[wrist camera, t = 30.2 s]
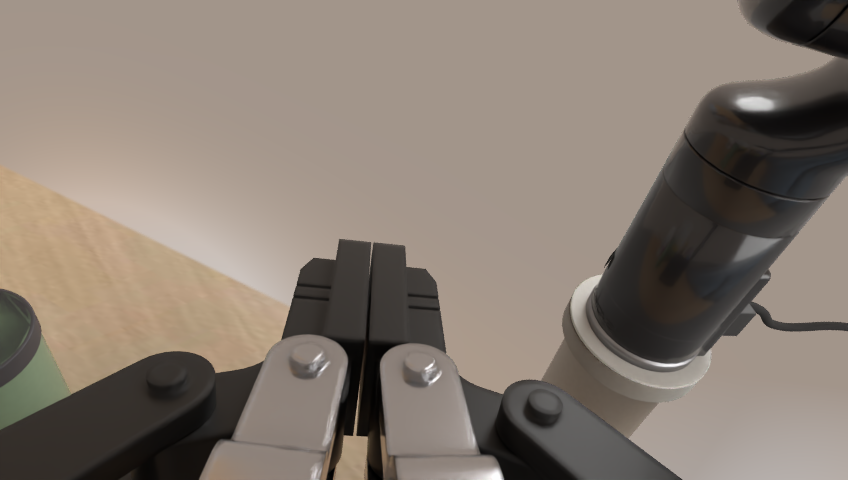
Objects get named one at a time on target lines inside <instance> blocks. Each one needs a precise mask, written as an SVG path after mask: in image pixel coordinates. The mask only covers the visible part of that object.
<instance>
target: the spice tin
mask: <svg viewBox="0 0 848 480" xmlns="http://www.w3.org/2000/svg"><path fill="white" fill-rule="evenodd" d="M70 395H72V394H71V392H70V390H69V388H68V386H67V384H66V382H65V380H64V378H63V376H62V374H61V372H60V370H59V368H58V366H57V364H56V362H55V360H54V358H53V356H52V354H51V352H50V349H49V347H48V345H47V343H46V341H45V339H44V337H43V335H42V333H41V326H40V323H39V321H38V319H37V317H36V315H35V313H34V310H33V308H32V307H31V305H30V304H29V303H28V302H27V301H26V300H25V299H24V298H23V297H21V296H20V295H18V294H16V293H13V292H11V291H8V290H4V289H0V430H1V429H3V428H5V427H7V426H9V425H11V424H13V423H15V422H17V421H19V420H21V419H23V418H25V417H27V416H29V415H31V414H33V413H35V412H37V411H39V410H41V409H43V408H45V407H47V406H49V405H51V404H53V403H55V402H57V401H59V400H61V399H64V398H66V397H68V396H70Z"/></svg>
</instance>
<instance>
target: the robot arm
mask: <svg viewBox="0 0 848 480" xmlns="http://www.w3.org/2000/svg"><path fill="white" fill-rule="evenodd" d="M737 2H738V6H739V9H740V13H741V15H742V16H743V17H744V19H745V20H746V21H747V23H748V24H749V25H751V26H752V27H753V28H755V29H757V30H758V31H760V32H762V33H763V34H765V35H767V36H769V37H771V38H773V39H775V40H779V41H781V42H785V43H790V44H793V45H796V46H800V47H804V48H807V49H810V50H814V51H818V52H822V53H825V54H829V55H832V56H835V57H834V58H833V59H831V60H830V61H829V62H827V63H826V64H824V65H823V66H820V67H818V68H816V69H813V70H811V71H808V72H805V73H801V74H798V75H793V76H789V77H783V78H777V79H769V80H752V81H737V82H731V83H726V84H722V85H719V86H716V87H714V88H713V89H711V90H710V91H708V92H707V93H706V94H705V95H704V96H703V97H702V99H701V100H700V102H699V103H698V105H697V106H696V108H695V110H694V112H693V113H692V115H691V117H690V119H689V121H688V122H687V124H686V126H685V128H684V130H683V131H682V133H681V135H680V137H679V139H678V140H677V142H676V144H675V146H674V148H673V149H672V151H671V153H670V155H669V156H668V158H667V160H666V162H665V164H664V166H663V168H662V170H661V171H660V173H659V175H658V176H657V178H656V180H655V182H654V184H653V186H652V187H651V189H650V191H649V193H648V195H647V196H646V198H645V200H644V202H643V203H642V205H641V207H640V209H639V211H638V212H637V214H636V216H635V218H634V219H633V221H632V223H631V225H630V227H629V228H628V230H627V232H626V234H625V236H624V237H623V239H622V241H621V243H620V245H619V246H618V248H617V249H616V250H615V251H614V252H613V253H612V255H611V256H610V257H609V259H608V261H607V263H606V265H607V264H608V262H609V261H610V260H611V261H610V262H609V264H608V266H607V268H606V269H605V272H604V273H603V275H602V277H601V278H600V280H599V282H598V284H597V285H596V286H595V287H594V288H593V290H592V292H591V294H590V296H589V298H588V300H587V303H586V315H587V319H588V322H589V325H590V327H591V329H592V330H593V332H594V333H595V335H596V336H597V338H598V339H599V340H600V341H601V342H602V343H603V344H604V346H606V347H607V348H608V349H609V350H610V351H611V352H613V353H614V354H615V355H617V356H618V357H619V358H621V359H623V360H624V361H626V362H628V363H630V364H632V365H634V366H637V367H639V368H642V369H645V370H649V371H654V372H675V371H678V370H681V369H683V368H685V367H687V366H688V365H689V364H690V363H691V362H692V361H693V360H694V358H695V357H696V356H705V354H706V353H707V352H708V351H709V350H710V349H711V348H712V346H713V345H714V344H715V343H716V342H717V340H718V339H719V338H720V337H721V336H722V335H723V336H737V335H738V334H739V333H740V332H741V331H742V330H743V328H744V327H745V326H746V325H747V324H748V323H749V322H750V320H751V319H752V318H753V317H754V316H755V315H756V313H757V314H759V315H760V317H761V319H762V321H763V323H764V324H765V325H766V326H768V327H770V328H773V329H777V330H782V331H815V330H844V331H848V323H841V322H812V323H782V322H778V321H774V320H772V318H771V316H770V314H769V312H768V311H767V310H766V309H765V308H764V307H762V306H760V305H759V304H757V303H754V302H751V301H752V300H753V299H754V298H755V297H756V295H757V294H758V293H759V292H760V291H761V290H762V288H763V287H764V286H765V285H766V284H767V283H768V281H769V280H770V277H771V273H770V271H769V267H770V266H771V265H772V264H773V263H774V262H775V260H776V259H777V258H778V256H780V254H781V253H782V252H783V251H784V250H785V248H786V247H787V246H788V245H789V244H790V243H791V241H792V240H793V239H794V238H795V236H796V235H797V234H798V233H799V231H800V230H801V229H802V228H803V227H804V226H805V224H806V223H807V222H808V221H809V220H810V219H811V217H812V216H813V215H814V214H815V213H816V211H817V210H818V209H819V208H820V207H821V205H822V204H823V203H824V202H825V201H826V200H827V198H828V197H829V196H830V194H831V193H832V192H833V191H834V190H835V189H836V188H837V187H838V185H839V184H840V183H841V182H842V181H843V180H844V179H845V177H846V176H848V0H737ZM370 251H371V242H364V241H353V240H345V239H339V245H338V250H337V256H336V260H330V259H319V258H313V259H312V260H311V261H309V262H308V263H307V264H306V265H305V266H304V267H303V268H302V269H301V270H300V274H299V277H298V281H297V286H296V288H295V292H294V297H293V299H292V303H291V306H290V310H289V314H288V317H287V321H286V325H285V328H284V332H283V336H282V339H281V341H279V342H278V343H276V344H275V345H274V346H273V347H272V348H271V349H270V350H269V352H268V353H267V355H266V358H265V360H264V361H263V362H261V363H259V364H256V365H254V366H251V367H248V368H244V369H239V370H234V371H227V372H221V373H215V370H214V368H213V366H212V365H211V363H210V362H209V361H208V360H207V359H205V358H203V357H202V356H199V355H197V354H193V353H189V352H181V351H173V352H164V353H159V354H155V355H152V356H149V357H147V358H144V359H142V360H140V361H138V362H136V363H134V364H132V365H130V366H128V367H126V368H124V369H122V370H120V371H118V372H116V373H114V374H112V375H110V376H108V377H106V378H104V379H102V380H100V381H98V382H96V383H94V384H92V385H90V386H88V387H86V388H84V389H82V390H80V391H78V392H76V393H74V394H72V395H70V396H68V397H66V398H64V399H61V400H59V401H57V402H55V403H53V404H51V405H49V406H47V407H45V408H43V409H41V410H39V411H37V412H35V413H33V414H31V415H29V416H27V417H25V418H23V419H21V420H19V421H17V422H15V423H13V424H11V425H9V426H7V427H5V428H3V429H1V430H0V480H334V479H335V474H336V466H337V463H338V462H339V460H340V457H341V453H342V445H343V437H344V435H348V436H353V432H354V424H355V416H356V408H357V400H358V392H359V406H358V421H357V436H367V437H368V447H367V457H366V464H365V472H364V480H682V479H681V478H680V477H678V476H677V475H676V474H674V473H673V472H671V471H670V470H669V469H668V468H666V467H665V466H663V465H662V464H661V463H660V462H658V461H657V460H656V459H654V458H653V457H652V456H650V455H649V454H647V453H646V452H645V451H644V450H642V449H641V448H640V447H638V446H637V445H636V444H634V443H633V442H631V441H630V440H629V439H628V438H626V437H625V436H624V435H622V434H621V433H620V432H618V431H617V430H616V429H614V428H613V427H612V426H610V425H609V424H608V423H606V422H605V421H604V420H602V419H601V418H600V417H598V416H597V415H596V414H594V413H593V412H592V411H590V410H589V409H588V408H586V407H585V406H584V405H582V404H581V403H580V402H578V401H577V400H576V399H574V398H573V397H572V396H570V395H569V394H568V393H566V392H565V391H563V390H562V389H560V388H558V387H556V386H555V385H552V384H549V383H547V382H543V381H538V380H522V381H518V382H515V383H513V384H511V385H510V386H509V387H508V388H507V389H506V390H505V392H504V394H499V393H497V392H494V391H491V390H487V389H484V388H481V387H479V386H476V385H474V384H472V383H470V382H468V381H467V380H465V379H463V378H462V377H461V376H460V375H459V374H458V370H457V367H456V365H455V363H454V362H453V360H452V359H451V358H450V357H449V356H448V355H447V354H446V348H445V341H444V334H443V327H442V320H441V313H440V306H439V300H438V291H437V285H436V282H435V280H434V279H433V278H432V277H431V275H430V274H429V273H428V272H427V270H426V269H420V268H410V267H406V254H405V246H403V245H393V244H383V243H374V244H373V250H372V258H371V266H370ZM606 265H605V266H606ZM369 267H370V274H369ZM359 384H360V391H359Z"/></svg>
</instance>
